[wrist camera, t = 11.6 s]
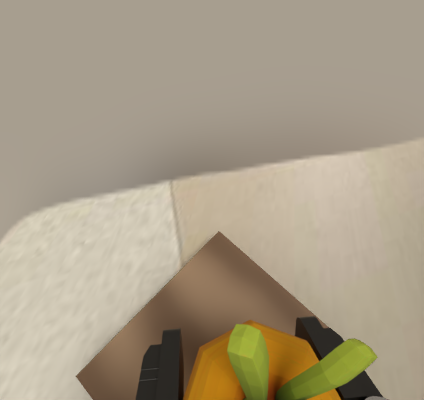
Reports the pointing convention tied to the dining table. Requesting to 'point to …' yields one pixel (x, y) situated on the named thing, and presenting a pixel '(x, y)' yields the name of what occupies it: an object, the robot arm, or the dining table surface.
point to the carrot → (272, 366)
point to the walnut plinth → (193, 316)
